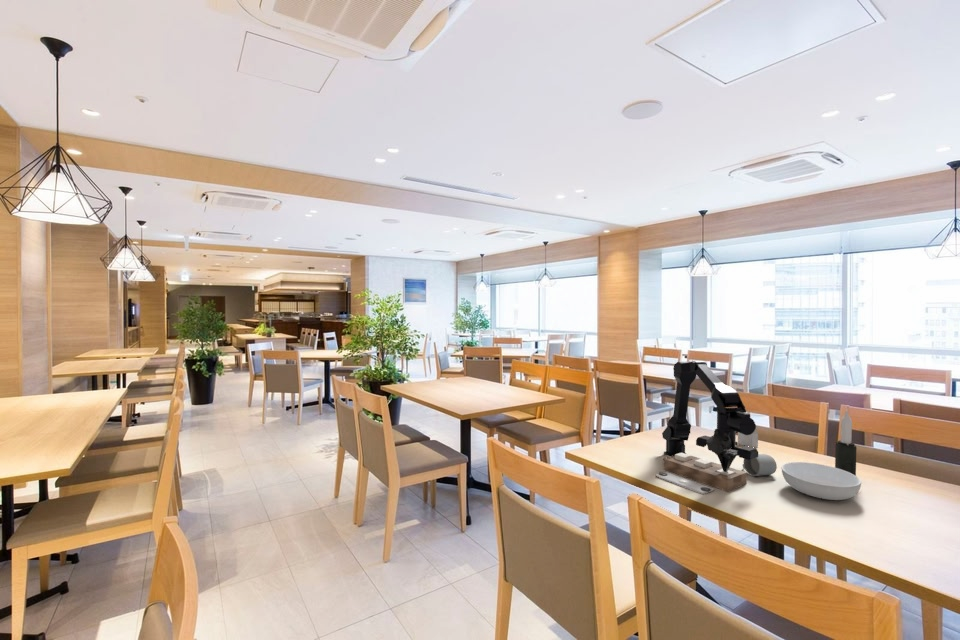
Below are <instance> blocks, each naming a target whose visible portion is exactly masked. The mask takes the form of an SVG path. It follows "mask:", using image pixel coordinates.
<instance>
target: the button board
mask: <svg viewBox="0 0 960 640" xmlns="http://www.w3.org/2000/svg"><path fill="white" fill-rule="evenodd" d="M698 459H702V458H700V457H697V456H694V455H691V460H690V461H687V462H683V461H680V460H677V459H675V456H671V455H670V456H668V457H665V458H663V470H664V469H665V470H664V471H667V470H668V471H667V472H670V471H671V472H670V473H672V474H675V475H678V476H681V475H682V476H681V477H683V478H684V477H685V478H686V479H689V480H690V479H691V480H693V481H695V482H696V481H697V482H699V483H700V484H703V485H706V486H709V487H712V488H713V487H714V488H715V489H719V490H722V491H725V492H730V491H732V490H735V489H738V488H740V487H742V486H745V485H746V484H747V474H748V473H747V471H743V470H739V469H737V468H734V467H731V466H730V467H729V469H728V470H730V471H733V472H735V473H734V474H733V475H730V476H727V475H724V474H721V473H718V472H717V470H720V469H723V468H722V466H721V463H717V462H714V461H711V462H712V467H710V468H707V469H705V468H702V467H699V466H696V465H695V460H698Z"/></svg>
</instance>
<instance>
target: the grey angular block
mask: <svg viewBox="0 0 960 640" xmlns="http://www.w3.org/2000/svg"><path fill="white" fill-rule="evenodd" d="M737 445H740V446H744V445H745V446H749V447H752V448H753V447H755V448H758V447H759V432H758V428H757V427H756V428H755V431H754V432H753V433H752V434H751V435H744V434H742V433H739V432H738V433H737Z"/></svg>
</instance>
